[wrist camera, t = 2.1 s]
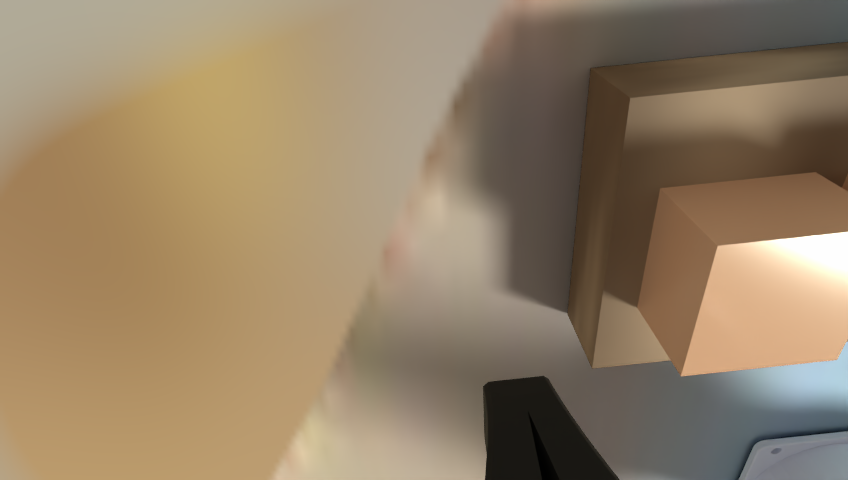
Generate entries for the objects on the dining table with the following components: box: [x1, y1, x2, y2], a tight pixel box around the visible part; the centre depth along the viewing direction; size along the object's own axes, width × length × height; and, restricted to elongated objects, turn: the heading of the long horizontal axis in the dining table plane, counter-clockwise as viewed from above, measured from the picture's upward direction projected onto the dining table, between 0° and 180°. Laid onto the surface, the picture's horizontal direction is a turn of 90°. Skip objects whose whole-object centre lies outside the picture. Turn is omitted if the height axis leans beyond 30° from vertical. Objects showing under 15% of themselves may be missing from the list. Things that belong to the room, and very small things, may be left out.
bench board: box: [568, 42, 848, 369], centre depth 17 cm, size 13×10×3 cm
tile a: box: [637, 172, 848, 376], centre depth 14 cm, size 4×4×3 cm
